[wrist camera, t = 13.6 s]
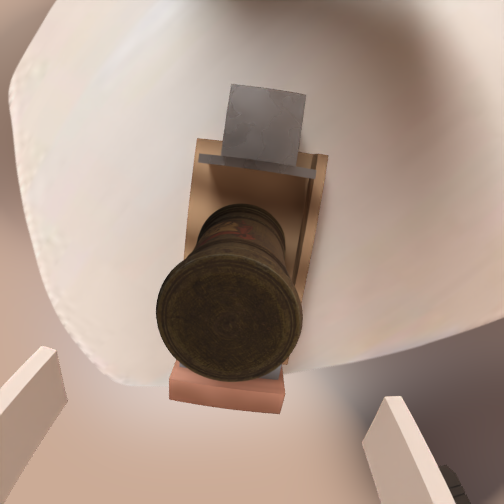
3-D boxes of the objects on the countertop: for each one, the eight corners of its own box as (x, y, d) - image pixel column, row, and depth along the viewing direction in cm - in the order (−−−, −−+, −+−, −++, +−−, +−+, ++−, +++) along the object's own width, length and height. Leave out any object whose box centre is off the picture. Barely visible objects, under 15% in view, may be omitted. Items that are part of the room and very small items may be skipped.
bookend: (217, 98, 31) (206, 81, 23) (314, 112, 31) (330, 99, 24) (208, 162, 32) (194, 162, 25) (304, 176, 33) (318, 180, 25)
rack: (199, 139, 33) (166, 126, 20) (319, 156, 34) (356, 153, 21) (181, 330, 40) (153, 400, 27) (284, 344, 40) (294, 418, 27)
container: (299, 230, 34) (342, 299, 17) (254, 297, 37) (254, 407, 19) (226, 185, 33) (195, 211, 16) (184, 257, 35) (126, 342, 18)
